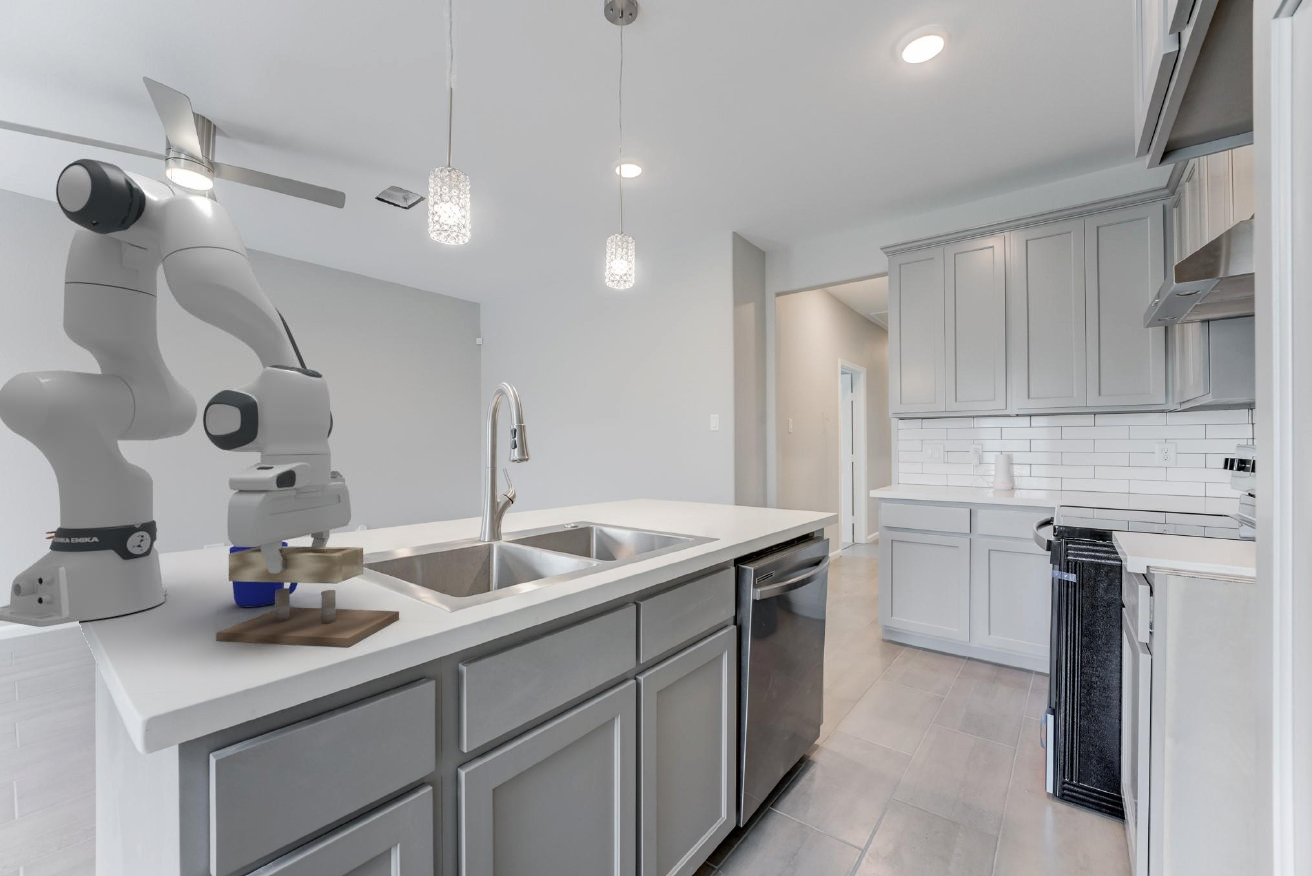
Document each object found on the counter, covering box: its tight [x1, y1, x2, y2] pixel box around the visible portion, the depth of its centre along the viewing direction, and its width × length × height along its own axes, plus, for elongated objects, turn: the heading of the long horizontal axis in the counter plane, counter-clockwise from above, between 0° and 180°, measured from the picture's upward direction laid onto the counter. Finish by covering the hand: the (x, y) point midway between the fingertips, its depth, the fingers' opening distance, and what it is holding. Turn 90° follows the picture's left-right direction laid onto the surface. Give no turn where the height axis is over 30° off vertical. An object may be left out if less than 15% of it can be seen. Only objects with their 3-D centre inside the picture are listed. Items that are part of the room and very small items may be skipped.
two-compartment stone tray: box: [228, 545, 364, 585], centre depth 84 cm, size 17×6×4 cm, turn 83°
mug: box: [229, 541, 299, 608], centre depth 96 cm, size 8×12×10 cm
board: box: [215, 587, 400, 648], centre depth 83 cm, size 20×12×6 cm, turn 83°
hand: (297, 566), depth 84 cm, fingers closed on two-compartment stone tray, 6 cm apart
